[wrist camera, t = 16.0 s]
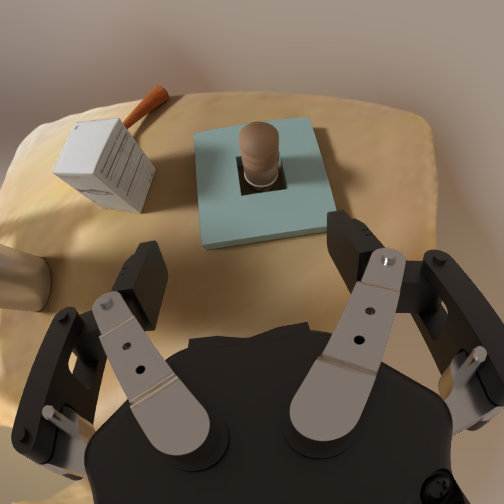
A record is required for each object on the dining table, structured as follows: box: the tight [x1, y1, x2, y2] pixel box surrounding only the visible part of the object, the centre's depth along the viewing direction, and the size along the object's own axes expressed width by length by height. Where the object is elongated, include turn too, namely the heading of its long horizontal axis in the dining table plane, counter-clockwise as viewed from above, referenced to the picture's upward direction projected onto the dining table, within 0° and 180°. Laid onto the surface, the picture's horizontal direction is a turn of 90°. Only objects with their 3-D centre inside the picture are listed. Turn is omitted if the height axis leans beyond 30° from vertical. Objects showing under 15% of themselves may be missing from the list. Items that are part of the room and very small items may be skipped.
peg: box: [238, 122, 279, 193], centre depth 30 cm, size 4×4×10 cm
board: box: [194, 117, 336, 250], centre depth 33 cm, size 16×16×2 cm
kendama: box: [123, 85, 169, 129], centre depth 36 cm, size 6×6×20 cm
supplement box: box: [53, 118, 156, 214], centre depth 30 cm, size 7×7×13 cm
